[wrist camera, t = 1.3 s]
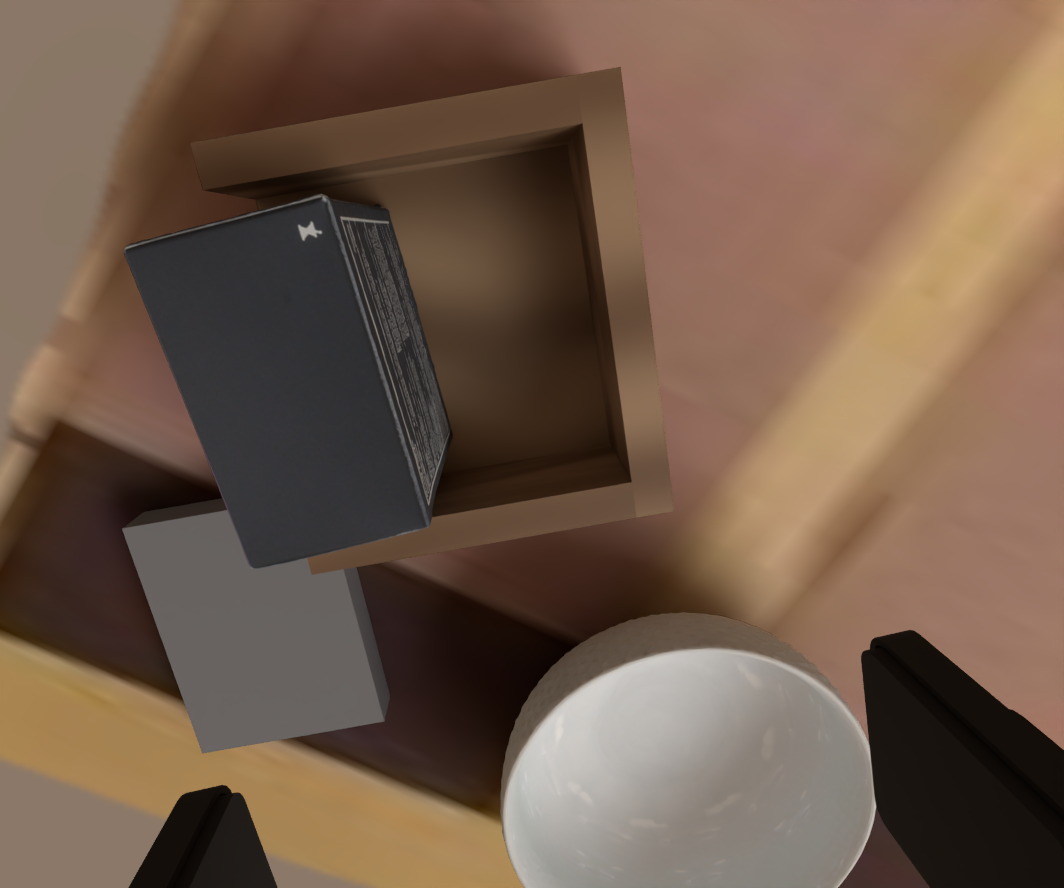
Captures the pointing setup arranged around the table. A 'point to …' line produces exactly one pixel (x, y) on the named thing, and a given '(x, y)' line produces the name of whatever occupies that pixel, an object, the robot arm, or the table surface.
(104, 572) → the table surface
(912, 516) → the table surface
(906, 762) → the robot arm
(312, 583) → the slate stand
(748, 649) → the cereal bowl
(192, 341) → the small box
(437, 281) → the box
